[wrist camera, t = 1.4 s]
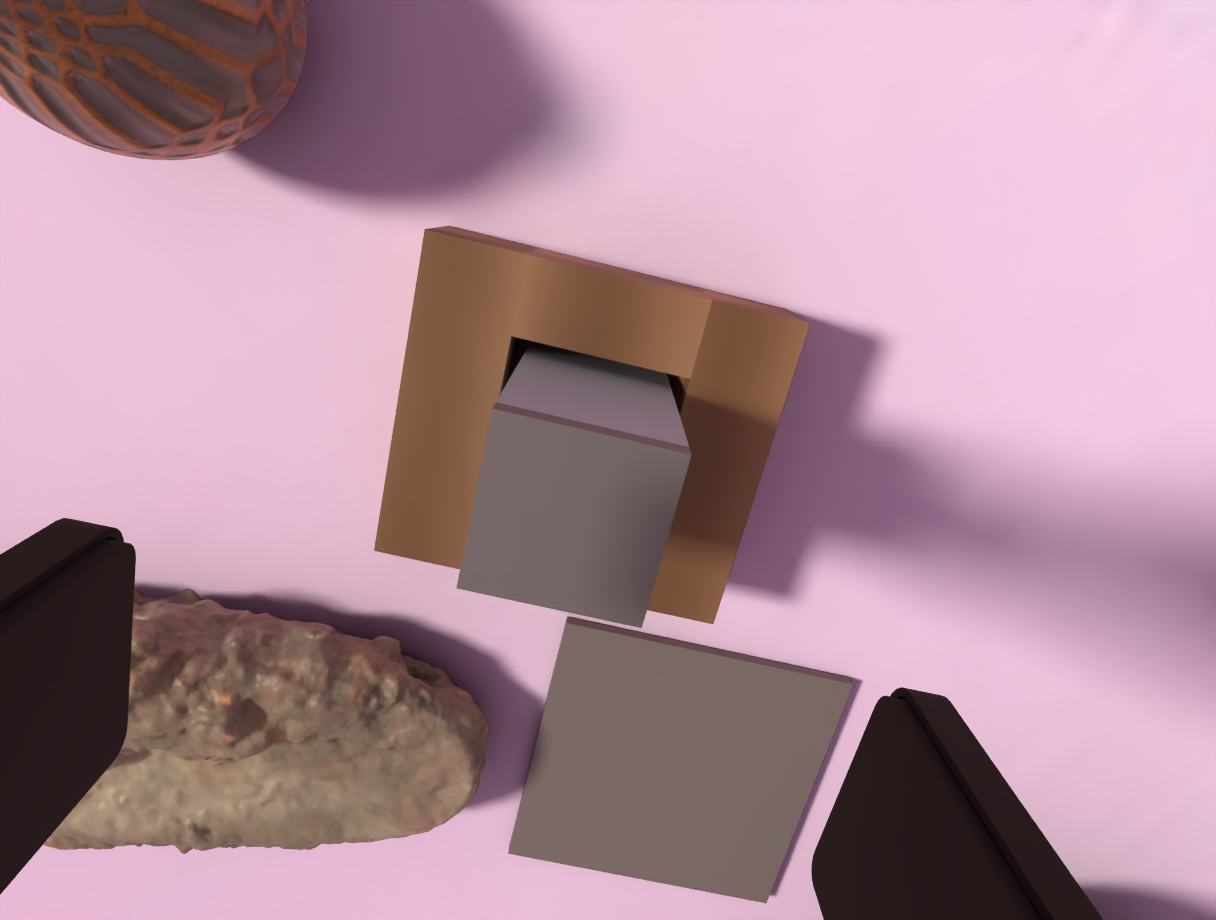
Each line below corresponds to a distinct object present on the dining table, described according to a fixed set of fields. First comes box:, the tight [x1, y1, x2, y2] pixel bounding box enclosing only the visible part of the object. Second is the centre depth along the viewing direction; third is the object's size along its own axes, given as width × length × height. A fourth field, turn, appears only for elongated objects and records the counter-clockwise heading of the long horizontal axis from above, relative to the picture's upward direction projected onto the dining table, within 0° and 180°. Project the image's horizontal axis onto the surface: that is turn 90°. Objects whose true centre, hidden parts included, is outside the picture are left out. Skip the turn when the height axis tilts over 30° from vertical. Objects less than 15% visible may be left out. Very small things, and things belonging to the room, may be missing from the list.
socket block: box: [374, 226, 810, 624], centre depth 22 cm, size 10×9×3 cm
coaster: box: [508, 617, 854, 903], centre depth 28 cm, size 10×10×1 cm
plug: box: [457, 341, 692, 628], centre depth 20 cm, size 4×4×8 cm
